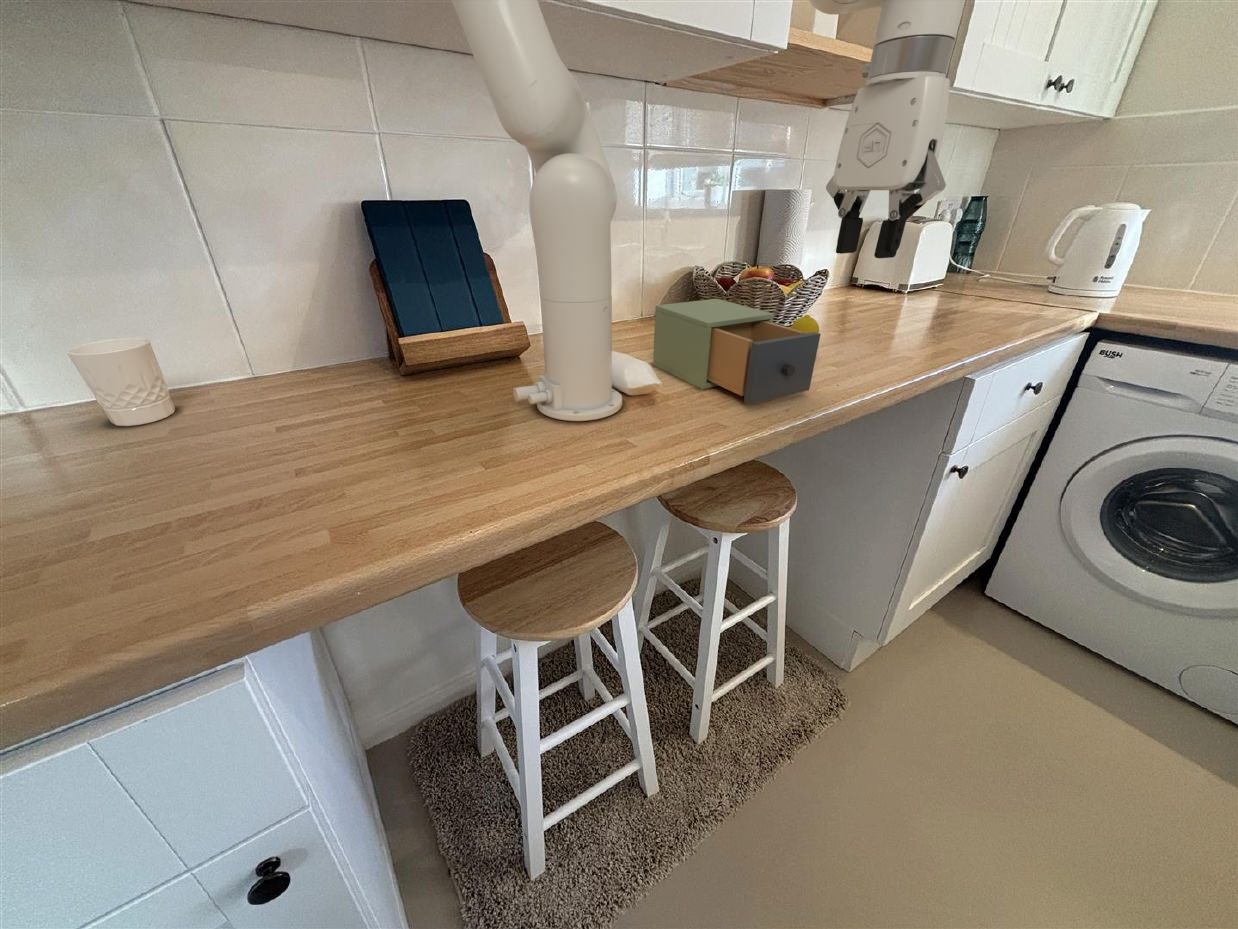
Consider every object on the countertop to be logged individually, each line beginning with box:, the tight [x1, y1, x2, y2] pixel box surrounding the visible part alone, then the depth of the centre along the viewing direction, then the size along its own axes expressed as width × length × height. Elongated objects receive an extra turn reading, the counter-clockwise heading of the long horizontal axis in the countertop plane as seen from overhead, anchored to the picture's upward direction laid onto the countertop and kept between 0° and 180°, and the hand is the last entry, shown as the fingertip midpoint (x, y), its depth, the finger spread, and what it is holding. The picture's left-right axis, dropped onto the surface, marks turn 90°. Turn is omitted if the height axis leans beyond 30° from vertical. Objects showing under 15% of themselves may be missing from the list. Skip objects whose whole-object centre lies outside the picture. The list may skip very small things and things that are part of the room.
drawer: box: [707, 320, 822, 405], centre depth 77 cm, size 15×12×9 cm
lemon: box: [790, 314, 820, 334], centre depth 93 cm, size 6×6×8 cm
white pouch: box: [612, 350, 663, 396], centre depth 76 cm, size 6×12×6 cm, turn 34°
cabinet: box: [652, 298, 775, 390], centre depth 85 cm, size 15×14×11 cm
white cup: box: [66, 337, 176, 427], centre depth 66 cm, size 8×8×10 cm
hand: (864, 253), depth 60 cm, fingers open, 4 cm apart
